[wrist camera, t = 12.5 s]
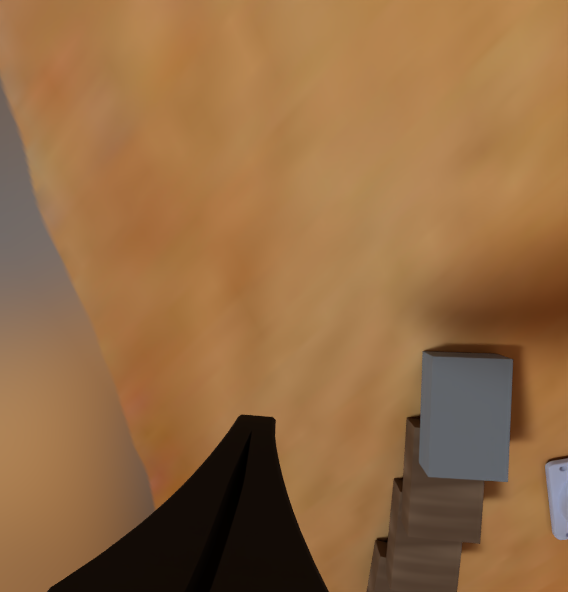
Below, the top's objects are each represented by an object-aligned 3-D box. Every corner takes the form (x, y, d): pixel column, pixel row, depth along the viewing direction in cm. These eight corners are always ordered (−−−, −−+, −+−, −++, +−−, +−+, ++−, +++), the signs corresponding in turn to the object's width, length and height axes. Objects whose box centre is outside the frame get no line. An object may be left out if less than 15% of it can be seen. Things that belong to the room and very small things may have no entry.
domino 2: (400, 491, 23) (390, 590, 23) (467, 499, 23) (456, 598, 23) (393, 478, 24) (385, 570, 25) (456, 485, 24) (446, 578, 24)
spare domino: (432, 356, 19) (428, 476, 19) (513, 359, 19) (507, 481, 19) (422, 351, 21) (418, 462, 21) (496, 353, 20) (491, 466, 21)
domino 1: (414, 427, 21) (407, 536, 21) (487, 432, 21) (479, 543, 21) (406, 417, 23) (400, 519, 23) (474, 422, 22) (467, 525, 23)
